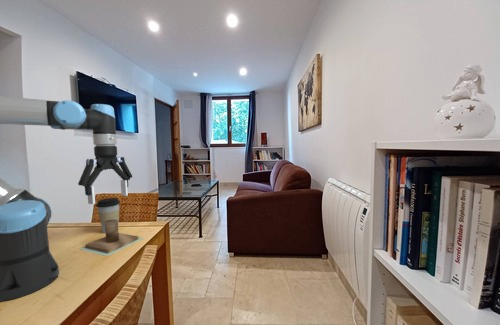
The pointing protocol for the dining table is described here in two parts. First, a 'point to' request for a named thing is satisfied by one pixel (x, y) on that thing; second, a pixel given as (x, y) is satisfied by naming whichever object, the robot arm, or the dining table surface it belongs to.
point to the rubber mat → (111, 252)
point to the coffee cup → (108, 210)
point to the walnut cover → (111, 239)
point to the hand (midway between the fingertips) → (109, 199)
